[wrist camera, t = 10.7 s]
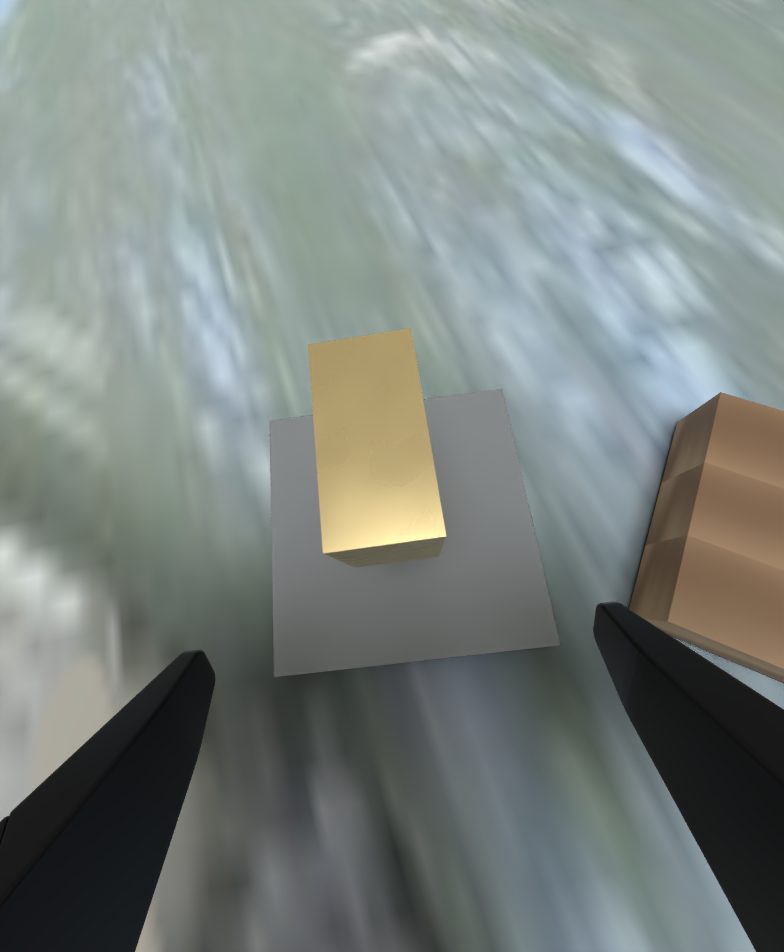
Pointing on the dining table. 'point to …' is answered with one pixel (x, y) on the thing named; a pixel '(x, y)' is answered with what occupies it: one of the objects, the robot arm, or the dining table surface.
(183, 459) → the dining table surface
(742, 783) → the robot arm
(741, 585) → the slot block
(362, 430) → the t key
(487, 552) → the mat
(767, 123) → the dining table surface
